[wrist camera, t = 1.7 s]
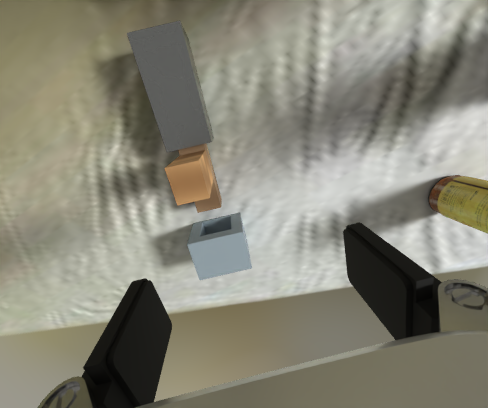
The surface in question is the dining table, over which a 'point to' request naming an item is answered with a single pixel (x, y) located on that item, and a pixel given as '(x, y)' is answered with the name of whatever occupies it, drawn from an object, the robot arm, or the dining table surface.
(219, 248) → the socket block
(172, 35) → the sleeve
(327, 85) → the dining table surface
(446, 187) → the sauce bottle
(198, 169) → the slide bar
